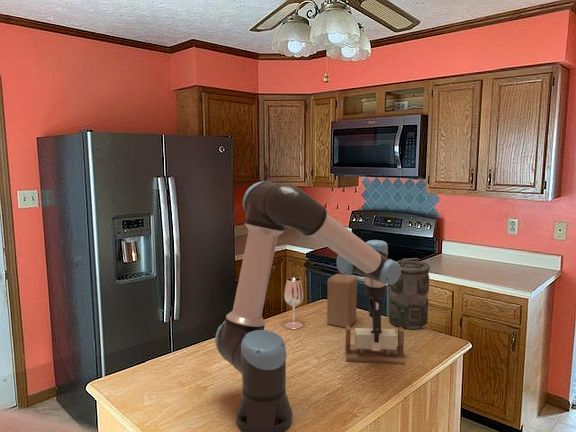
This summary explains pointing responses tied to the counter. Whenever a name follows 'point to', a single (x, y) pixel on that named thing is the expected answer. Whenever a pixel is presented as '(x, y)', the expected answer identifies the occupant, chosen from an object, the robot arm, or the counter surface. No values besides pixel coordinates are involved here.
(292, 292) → the wineglass
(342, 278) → the block
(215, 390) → the counter surface
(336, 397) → the counter surface
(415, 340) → the counter surface
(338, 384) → the counter surface
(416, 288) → the canister
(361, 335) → the cream rectangular block
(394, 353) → the peg frame
